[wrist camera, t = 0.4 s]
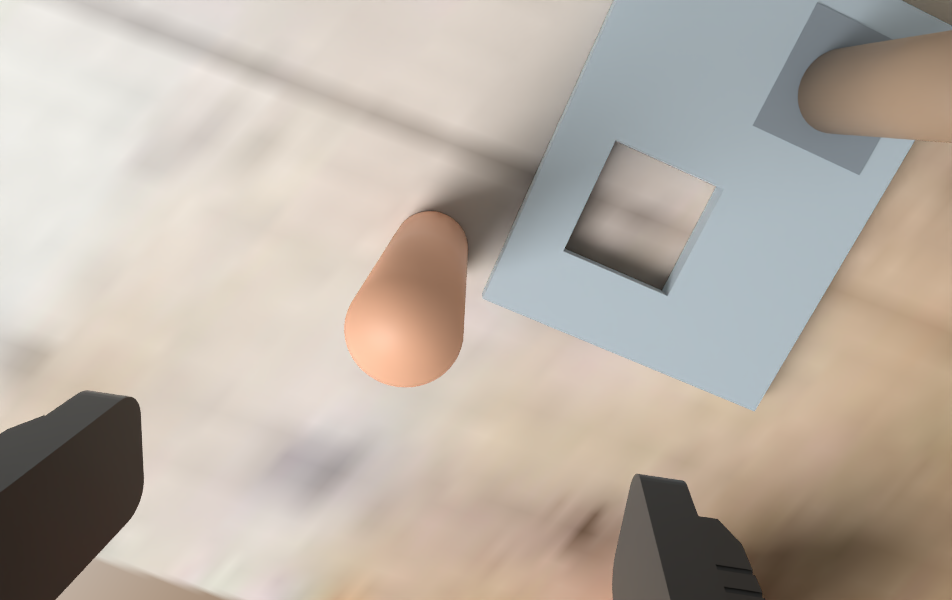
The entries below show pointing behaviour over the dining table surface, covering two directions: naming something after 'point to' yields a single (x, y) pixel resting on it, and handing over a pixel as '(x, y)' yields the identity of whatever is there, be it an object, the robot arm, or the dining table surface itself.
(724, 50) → the board
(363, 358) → the wooden peg
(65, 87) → the dining table surface
